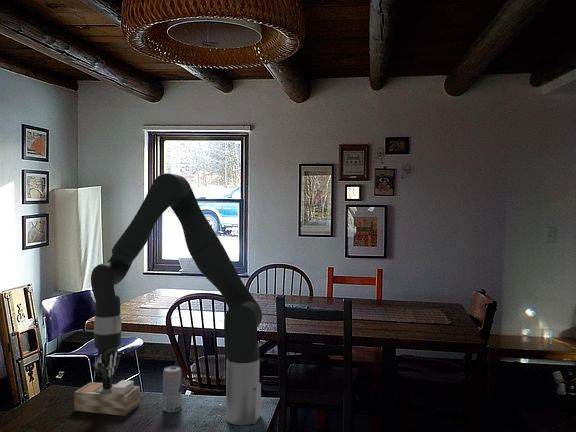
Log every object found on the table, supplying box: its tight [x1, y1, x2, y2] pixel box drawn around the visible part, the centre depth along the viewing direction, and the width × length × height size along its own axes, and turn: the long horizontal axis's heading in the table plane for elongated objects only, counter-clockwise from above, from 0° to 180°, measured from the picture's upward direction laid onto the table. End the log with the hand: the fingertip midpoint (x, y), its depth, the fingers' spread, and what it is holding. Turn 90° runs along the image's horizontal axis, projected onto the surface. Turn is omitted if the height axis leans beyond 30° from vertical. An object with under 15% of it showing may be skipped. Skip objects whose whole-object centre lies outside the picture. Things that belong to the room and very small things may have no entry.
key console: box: [74, 381, 141, 417], centre depth 149 cm, size 16×8×6 cm, turn 79°
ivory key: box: [113, 379, 135, 395], centre depth 148 cm, size 4×6×3 cm, turn 169°
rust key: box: [82, 384, 103, 392], centre depth 150 cm, size 4×6×3 cm, turn 169°
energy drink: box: [162, 365, 183, 413], centre depth 148 cm, size 5×5×12 cm
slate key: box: [97, 385, 114, 394], centre depth 149 cm, size 4×6×3 cm, turn 169°
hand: (107, 388), depth 149 cm, fingers closed
